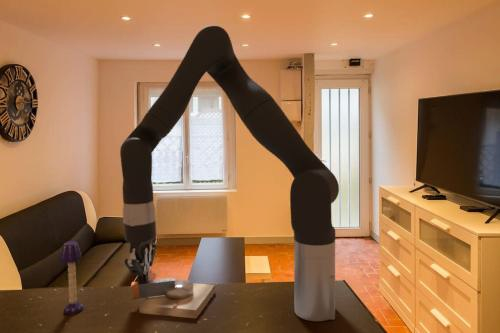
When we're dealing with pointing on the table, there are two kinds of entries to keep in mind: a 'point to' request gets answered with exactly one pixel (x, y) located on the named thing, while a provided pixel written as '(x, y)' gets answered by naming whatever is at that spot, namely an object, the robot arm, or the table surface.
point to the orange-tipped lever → (162, 288)
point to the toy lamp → (71, 275)
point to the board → (179, 303)
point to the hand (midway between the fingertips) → (143, 287)
